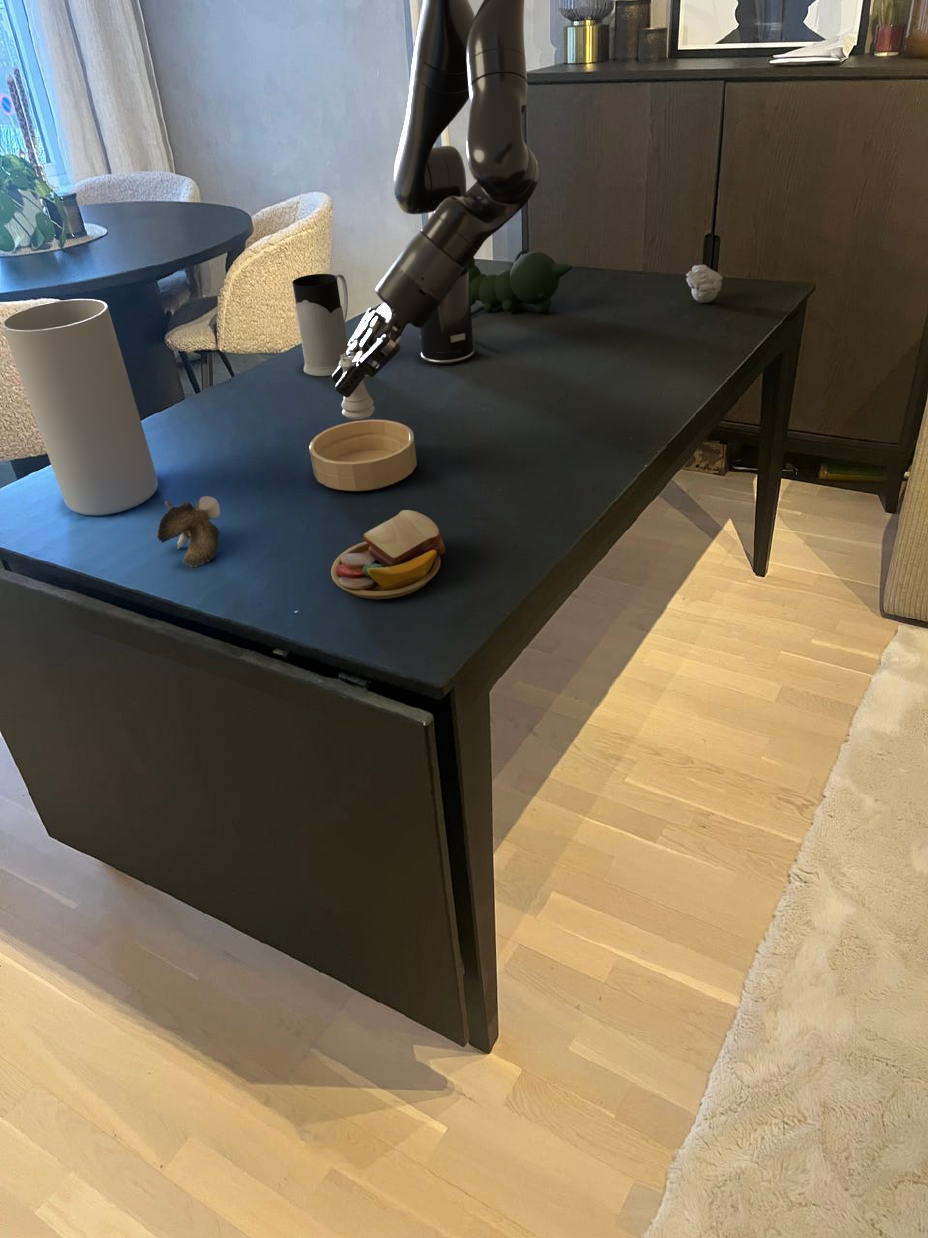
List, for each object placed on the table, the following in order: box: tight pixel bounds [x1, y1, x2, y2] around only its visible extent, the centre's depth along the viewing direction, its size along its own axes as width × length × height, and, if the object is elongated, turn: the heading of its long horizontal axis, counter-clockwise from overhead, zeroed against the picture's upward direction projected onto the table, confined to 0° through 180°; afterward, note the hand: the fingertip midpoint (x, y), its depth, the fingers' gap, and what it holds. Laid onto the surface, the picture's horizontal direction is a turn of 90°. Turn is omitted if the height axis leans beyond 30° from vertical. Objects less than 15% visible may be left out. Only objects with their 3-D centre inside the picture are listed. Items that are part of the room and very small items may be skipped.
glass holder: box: [291, 273, 349, 377], centre depth 164 cm, size 9×14×15 cm, turn 158°
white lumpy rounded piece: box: [685, 264, 723, 304], centre depth 178 cm, size 6×7×7 cm
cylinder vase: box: [1, 298, 159, 516], centre depth 123 cm, size 12×12×25 cm
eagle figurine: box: [156, 495, 221, 568], centre depth 115 cm, size 8×7×9 cm
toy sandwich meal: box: [330, 509, 446, 600], centre depth 107 cm, size 12×14×5 cm
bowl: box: [309, 419, 418, 492], centre depth 129 cm, size 14×14×4 cm
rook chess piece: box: [339, 352, 376, 420], centre depth 124 cm, size 4×4×8 cm
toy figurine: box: [468, 251, 573, 314], centre depth 180 cm, size 9×19×25 cm
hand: (339, 387), depth 123 cm, fingers closed on rook chess piece, 3 cm apart
